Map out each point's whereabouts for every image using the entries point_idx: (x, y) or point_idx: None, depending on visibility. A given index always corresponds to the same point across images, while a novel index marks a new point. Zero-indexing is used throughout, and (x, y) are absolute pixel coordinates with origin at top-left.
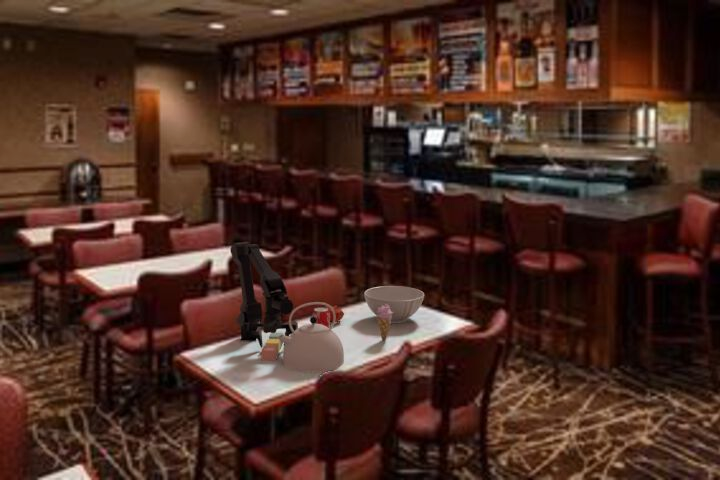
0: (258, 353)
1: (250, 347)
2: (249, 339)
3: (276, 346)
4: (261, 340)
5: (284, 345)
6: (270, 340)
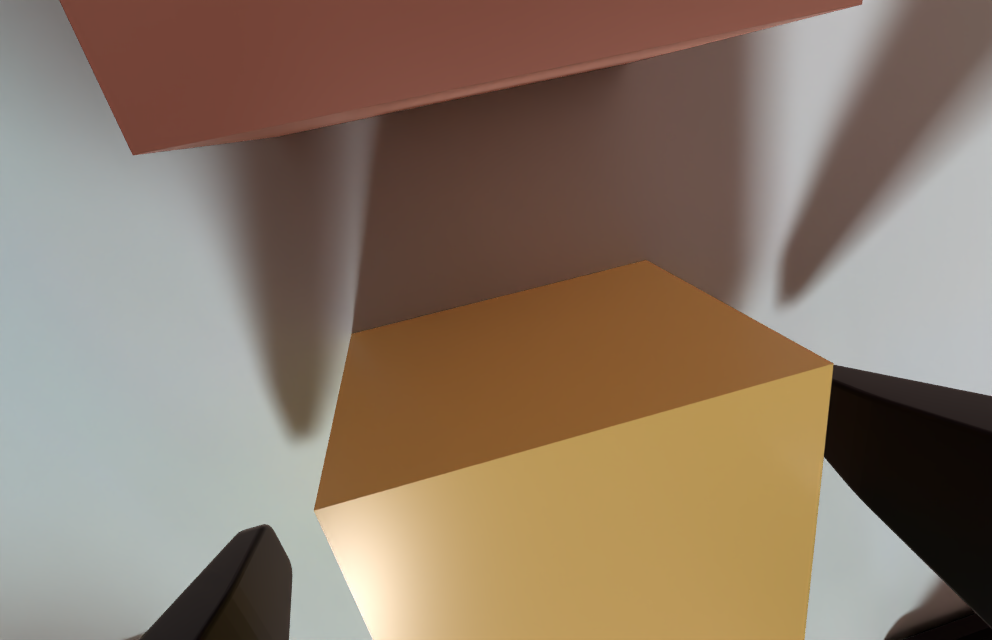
0: (784, 162)
1: None
2: (982, 631)
3: (115, 34)
4: (971, 509)
5: (216, 583)
6: (705, 619)
